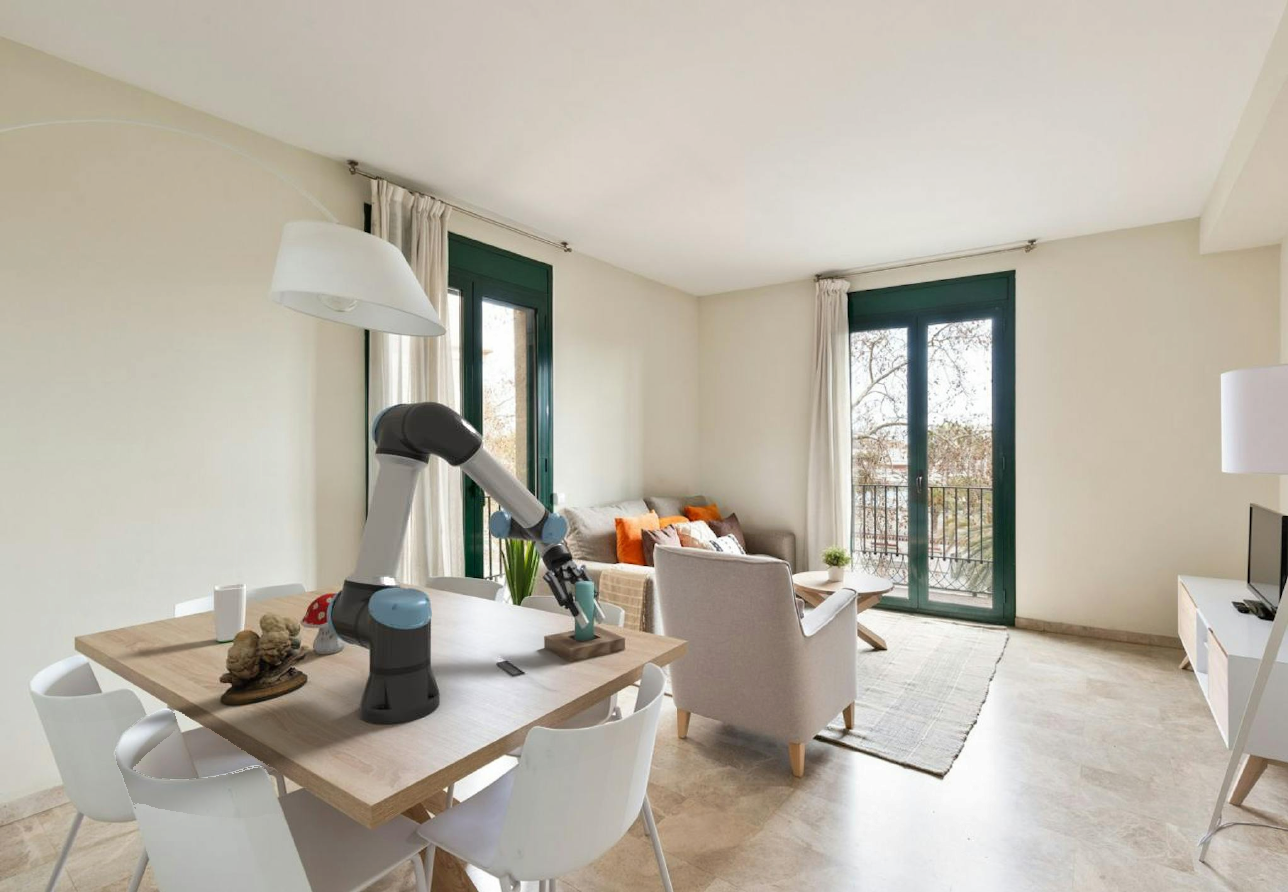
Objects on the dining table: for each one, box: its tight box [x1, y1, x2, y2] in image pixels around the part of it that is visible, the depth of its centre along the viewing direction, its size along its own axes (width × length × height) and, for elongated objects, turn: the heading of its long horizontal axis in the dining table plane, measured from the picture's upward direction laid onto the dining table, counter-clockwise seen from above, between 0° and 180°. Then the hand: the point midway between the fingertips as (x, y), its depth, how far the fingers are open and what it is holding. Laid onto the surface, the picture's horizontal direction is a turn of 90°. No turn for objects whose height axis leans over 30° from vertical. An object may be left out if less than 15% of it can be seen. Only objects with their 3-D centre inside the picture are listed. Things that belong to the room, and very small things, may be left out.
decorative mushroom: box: [299, 592, 348, 655], centre depth 162 cm, size 14×14×15 cm
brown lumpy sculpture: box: [219, 612, 310, 707], centre depth 135 cm, size 18×12×17 cm, turn 150°
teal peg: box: [574, 581, 595, 642], centre depth 159 cm, size 5×5×17 cm
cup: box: [213, 583, 247, 643], centre depth 172 cm, size 7×7×15 cm
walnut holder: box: [543, 625, 626, 663], centre depth 159 cm, size 16×14×4 cm
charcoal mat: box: [496, 660, 527, 677], centre depth 149 cm, size 10×10×1 cm
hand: (593, 623), depth 157 cm, fingers closed on teal peg, 5 cm apart
